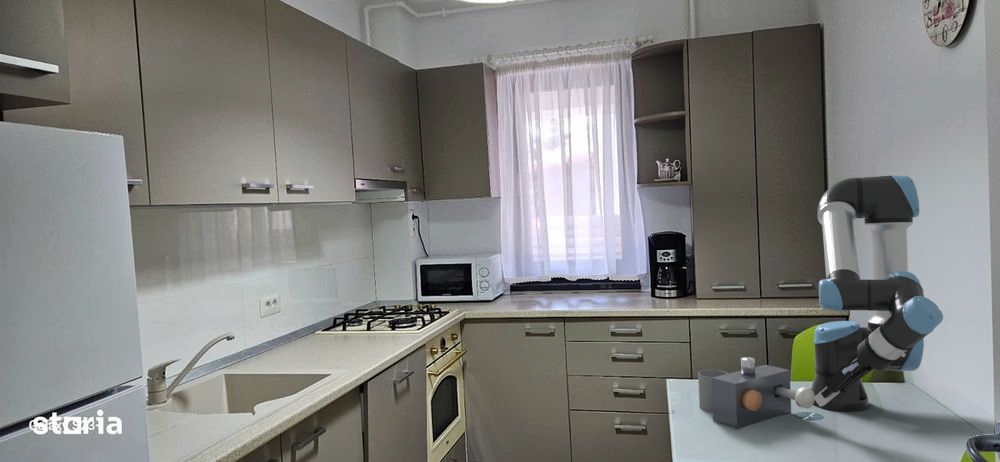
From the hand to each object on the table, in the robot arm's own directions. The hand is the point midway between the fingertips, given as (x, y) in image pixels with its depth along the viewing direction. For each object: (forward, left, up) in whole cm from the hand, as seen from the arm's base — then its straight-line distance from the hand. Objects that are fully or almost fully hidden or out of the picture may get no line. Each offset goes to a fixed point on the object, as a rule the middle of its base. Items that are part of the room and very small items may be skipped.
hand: (818, 401), depth 168 cm
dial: (+15, -9, +5) cm, 19 cm away
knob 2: (+5, -6, -3) cm, 8 cm away
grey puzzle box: (+15, -9, -7) cm, 18 cm away
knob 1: (+19, -4, -3) cm, 19 cm away
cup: (+24, -17, -7) cm, 30 cm away
